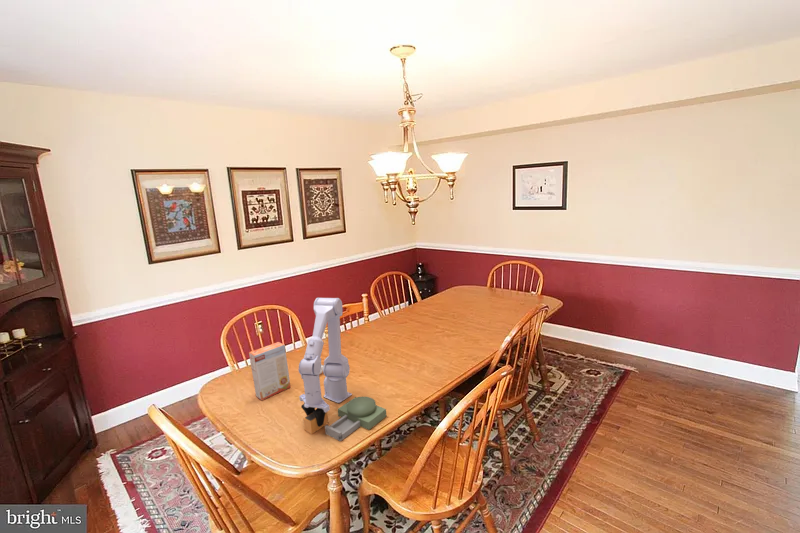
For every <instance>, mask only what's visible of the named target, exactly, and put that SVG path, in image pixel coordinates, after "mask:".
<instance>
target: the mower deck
mask: <svg viewBox="0 0 800 533" xmlns="http://www.w3.org/2000/svg"><path fill="white" fill-rule="evenodd" d="M337 416H338V417H340V418H339V419H337V420H336V421H334V422H333V423H332V424H330V425H328V424H326V425H325V426H324V431H325V435H327V436H329V437H330V438H333V439H334V440H337V441H338V442H342V441H343V440H344V439H346V438H347V437H348V436H350V435H351V434H352V433H354V432H355V431H356V430H358V429H359V428H360V427H361V428H363V429H366V430H368V431H370V430H371V429H373V427H375V426H376V425H377V424H379V423H380V422H381V421H382V420H383V419H385V418H386V417H387V408H384V407H382V406H379V405H377V403H376V400H375V399H374V398H372V397H370V396H358V397H356V396H355V397H354V398H352V399H350V400H349V401H348V402H346V403H345V404H343V405H342V406H340V407H338V408H337Z"/></svg>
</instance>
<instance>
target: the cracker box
mask: <svg viewBox="0 0 800 533" xmlns="http://www.w3.org/2000/svg"><path fill="white" fill-rule="evenodd" d="M248 355H249V361H250V367H251V374H252V379H253V384H254V385H253V386H254V392H255V396H256V397H257V398H258V399H259V400H260V401H265V400H267V399H268V398H271V397H273V396H275V395H277V394H279V393H282V392H284V391H285V390H288V389H291V381H290V373H289V366H288V360H287V358H288V357H287V354H286V346H285V344H284V343H281V342H280V341H277V342H274V343H272V344H268V345H265V346H262V347H260V348H257V349H254V350H252V351H248Z"/></svg>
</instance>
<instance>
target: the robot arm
mask: <svg viewBox="0 0 800 533" xmlns="http://www.w3.org/2000/svg"><path fill="white" fill-rule="evenodd" d="M313 312H314V315H315V317H314V318H315V319H314V325H313V330H312V336H311V338H309V339H308V341H307V345H306V349H305V353H304V355H305V356H304V355H303V358H302V359H301V360H300V361H299V364H298V374H300V376H301V377H300V378H301V380H302V381H303V388H304V393H302V394H300V395H299V396H298V398H299V402H303V404H302V405H301V408H302V410H303V412H304V413H305V414H306V416H308V415H310V414H311V413H314V415H315V417H316V420H317V425H318V426H319V427H320V426H321V425H323V423H324V417H325V414H326V412H327V413H328V412H329V411H330V405H329V404H328V403H327V402H326V400H324V399H323V398H325V399H328V400H330V401H332V402H335V403H337V404H340V403H342V402H343V401H344V400H346V399H348V398H349V397H351V396H352V395H353V393H351V392H349V391H348V385H347V383H348V382H347V378H348V376H349V375H350V371H351V370H350V368H351V367H350V365H349V358H348V357H347V356H346V355H343V354H342V344H341V342H342V341H341V320H340V319H341V318H340V317H342V316H343V302H342V299H341V298H339V297H316V298H315V300H314V301H313ZM326 327H327V336H328V341H327V342H328V356H327V357H326V358H325V359H324V360H323V365H324V366H323V371H322V373H323V375H324V379H323V387H324V388H323V389H324V395H323V396H322V388H321V380H320V374H319V373H320V370H321V365H322V358H321V356H322V352H323V348H324V341H323V336H324V334H325V330H326ZM322 397H323V398H322Z"/></svg>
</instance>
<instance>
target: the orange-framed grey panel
mask: <svg viewBox="0 0 800 533" xmlns="http://www.w3.org/2000/svg"><path fill="white" fill-rule="evenodd" d="M328 424H329V414H328V412H326V414H325V417H324V423H323V425H321V426H320V427H319V426H318V425H317V420H316V417H315V415H314V413H311V414H310V415H308V416H307V415H306V416H305V417H304V418H303V425H304V426H303V427H304V431H305V432H307V433H309V434H311V435H313V434H315V433H316V432H317V431H319V430H320V429H322V428H323V427H325V426H326V425H328Z"/></svg>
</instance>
